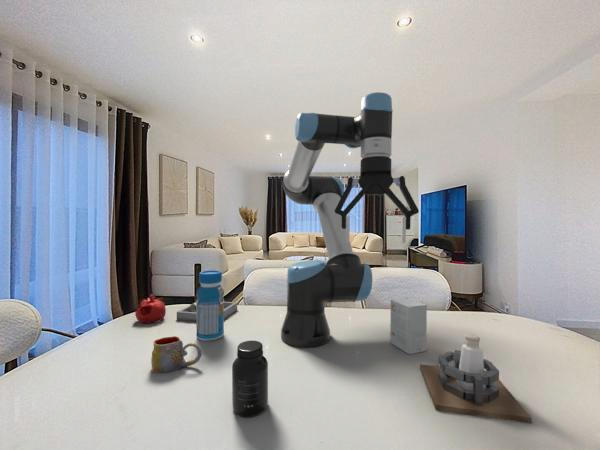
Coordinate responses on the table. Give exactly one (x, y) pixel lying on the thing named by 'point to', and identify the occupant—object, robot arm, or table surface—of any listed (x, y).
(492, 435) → the table surface
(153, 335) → the table surface
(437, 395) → the collar base
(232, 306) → the parts tray
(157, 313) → the pomegranate
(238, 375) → the supplement bottle
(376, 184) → the robot arm
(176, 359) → the mug
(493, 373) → the collar frame
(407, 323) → the small box
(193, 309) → the pipe fitting
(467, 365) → the pepper shaker
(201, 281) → the beverage bottle
